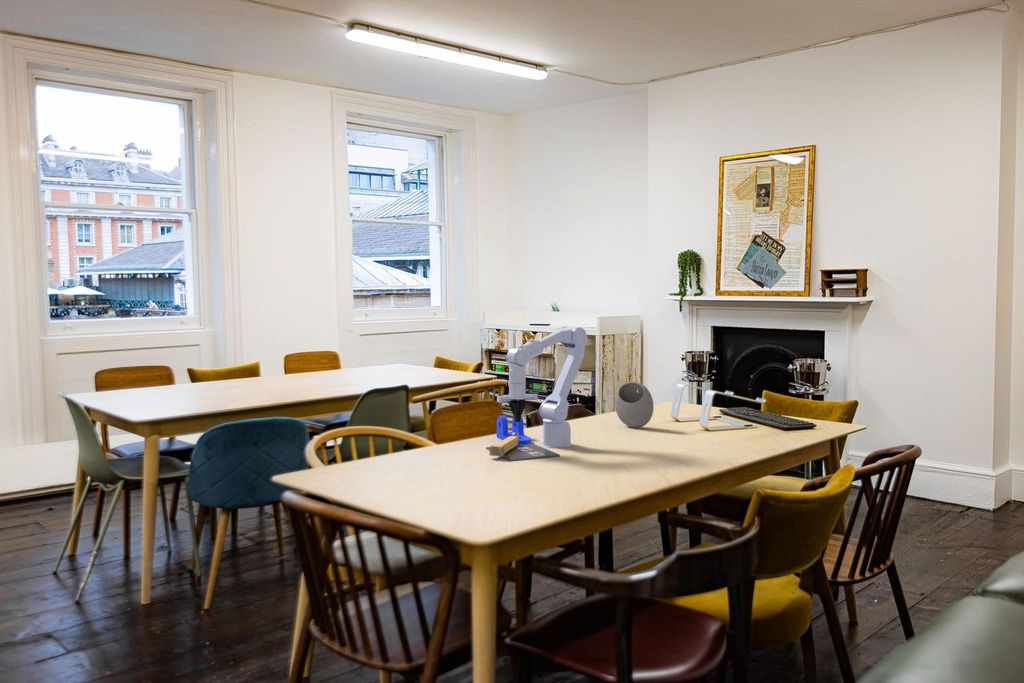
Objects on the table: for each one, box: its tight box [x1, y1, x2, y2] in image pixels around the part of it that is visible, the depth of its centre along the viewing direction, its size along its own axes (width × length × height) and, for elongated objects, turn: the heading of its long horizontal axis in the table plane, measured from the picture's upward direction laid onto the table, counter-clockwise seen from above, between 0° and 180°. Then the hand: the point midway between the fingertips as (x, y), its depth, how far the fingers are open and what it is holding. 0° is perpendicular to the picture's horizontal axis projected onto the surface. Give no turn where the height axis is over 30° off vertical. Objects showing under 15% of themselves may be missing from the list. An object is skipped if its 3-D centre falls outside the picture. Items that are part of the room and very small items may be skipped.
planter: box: [614, 381, 654, 429], centre depth 335 cm, size 18×7×19 cm, turn 46°
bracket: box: [496, 415, 532, 444], centre depth 307 cm, size 18×8×9 cm, turn 20°
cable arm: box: [489, 436, 518, 457], centre depth 283 cm, size 20×4×3 cm, turn 163°
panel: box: [485, 432, 561, 462], centre depth 284 cm, size 18×22×6 cm
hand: (517, 421), depth 288 cm, fingers closed
